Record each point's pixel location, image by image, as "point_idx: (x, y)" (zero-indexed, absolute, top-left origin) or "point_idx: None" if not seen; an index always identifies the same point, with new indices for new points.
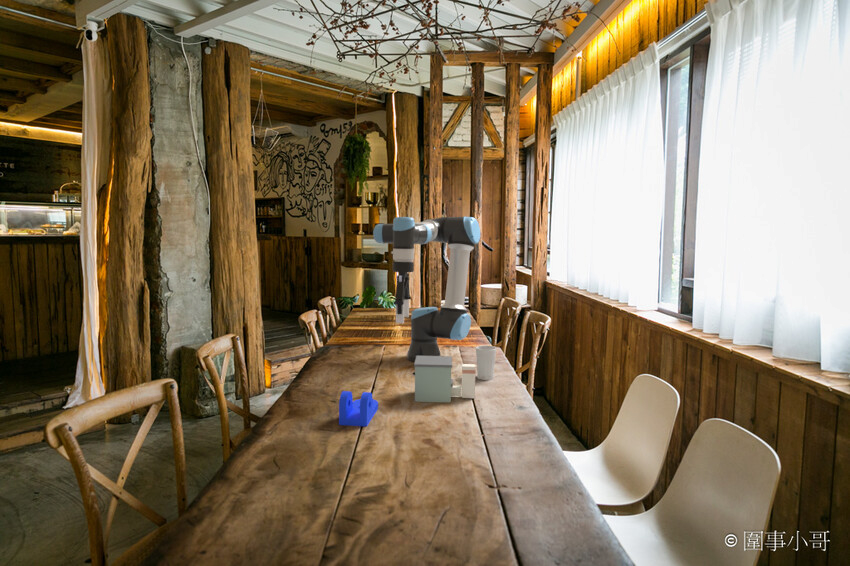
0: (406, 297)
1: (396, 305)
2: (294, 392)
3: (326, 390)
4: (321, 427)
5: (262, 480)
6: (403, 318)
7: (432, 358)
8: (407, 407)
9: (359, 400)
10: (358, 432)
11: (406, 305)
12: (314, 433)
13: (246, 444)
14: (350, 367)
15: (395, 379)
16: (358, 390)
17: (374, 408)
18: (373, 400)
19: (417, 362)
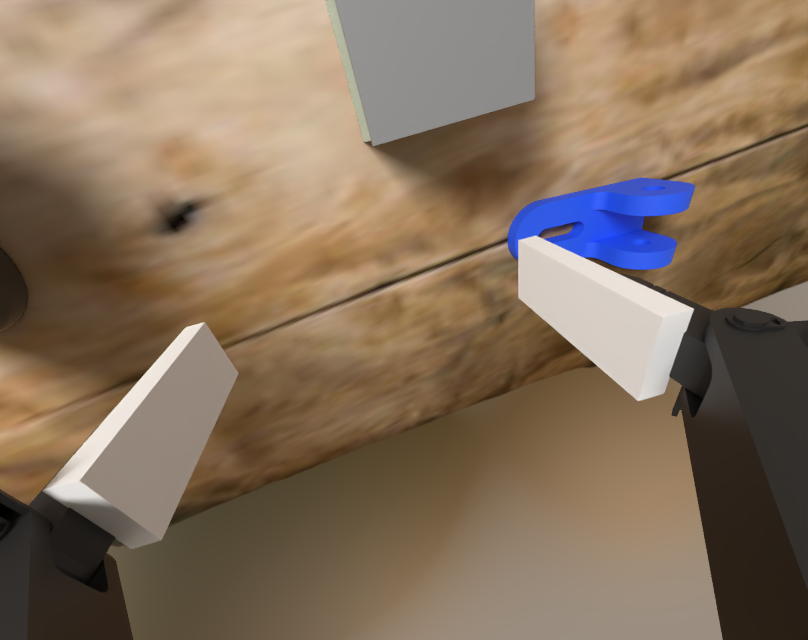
0: (51, 555)
1: (656, 380)
2: (466, 403)
3: (439, 365)
4: None
5: (805, 239)
6: (562, 248)
7: (402, 17)
8: (516, 118)
9: None
10: None
11: (160, 424)
12: None
13: None
14: (249, 413)
15: (283, 260)
16: (418, 307)
17: (582, 195)
18: (526, 224)
19: (502, 91)
